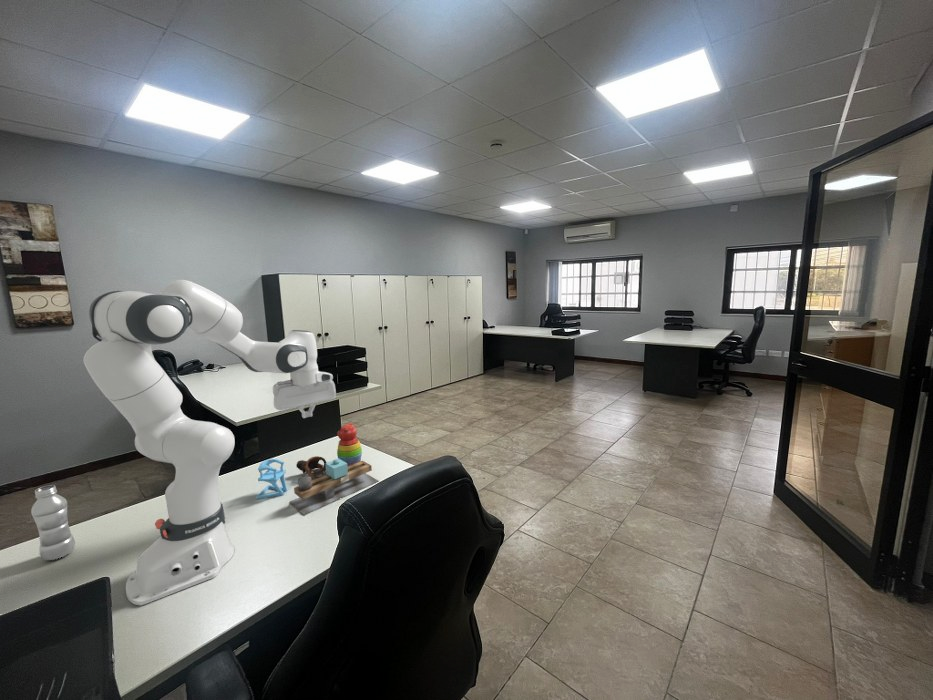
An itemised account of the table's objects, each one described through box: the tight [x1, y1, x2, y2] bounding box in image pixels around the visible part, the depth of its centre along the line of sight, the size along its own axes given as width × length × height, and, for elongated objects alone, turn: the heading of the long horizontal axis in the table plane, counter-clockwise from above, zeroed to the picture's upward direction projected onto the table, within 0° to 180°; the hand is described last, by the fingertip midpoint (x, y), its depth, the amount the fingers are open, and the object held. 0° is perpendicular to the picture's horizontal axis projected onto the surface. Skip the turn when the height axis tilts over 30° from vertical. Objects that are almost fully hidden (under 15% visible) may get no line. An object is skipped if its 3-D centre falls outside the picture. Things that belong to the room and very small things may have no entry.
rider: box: [325, 457, 348, 479], centre depth 133 cm, size 5×6×7 cm
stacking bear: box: [336, 422, 363, 467], centre depth 150 cm, size 11×10×18 cm
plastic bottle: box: [30, 484, 76, 561], centre depth 102 cm, size 6×7×20 cm
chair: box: [256, 458, 289, 500], centre depth 133 cm, size 8×8×12 cm
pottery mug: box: [295, 455, 327, 481], centre depth 145 cm, size 12×10×8 cm
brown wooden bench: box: [289, 460, 380, 516], centre depth 133 cm, size 28×11×9 cm, turn 137°
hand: (307, 417), depth 130 cm, fingers closed
